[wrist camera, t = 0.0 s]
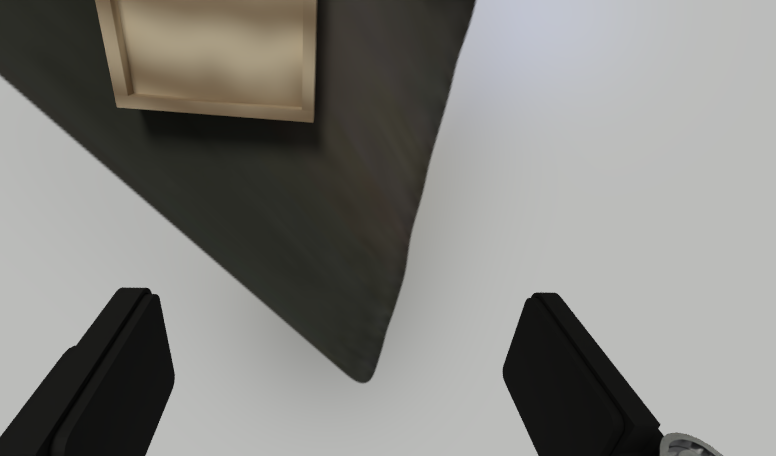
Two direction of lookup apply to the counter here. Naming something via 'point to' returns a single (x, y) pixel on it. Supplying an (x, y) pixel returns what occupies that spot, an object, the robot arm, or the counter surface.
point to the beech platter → (213, 56)
